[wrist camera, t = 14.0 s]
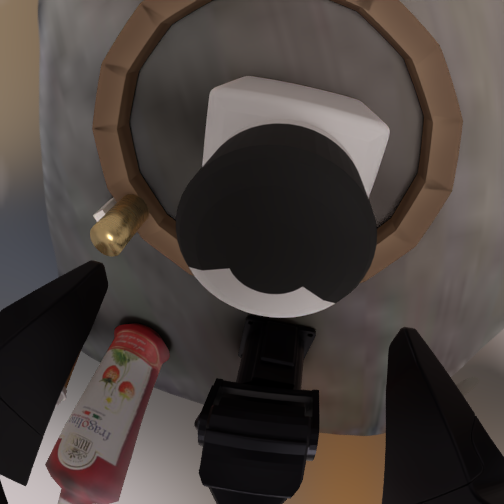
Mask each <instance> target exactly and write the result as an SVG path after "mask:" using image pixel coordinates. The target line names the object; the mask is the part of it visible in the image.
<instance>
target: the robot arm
mask: <svg viewBox="0 0 504 504" xmlns="http://www.w3.org/2000/svg"><path fill="white" fill-rule="evenodd" d="M107 289H108V281H107V276H106V272H105V267H104V265H103V263H101V262H97V261H89V262H87V263H85V264H83V265H81V266H79V267H77V268H75V269H73V270H72V271H70V272H68V273H66V274H64V275H62V276H60V277H59V278H57V279H55V280H53V281H51V282H50V283H48V284H46V285H44V286H42V287H41V288H39V289H37V290H35V291H33V292H32V293H30V294H28V295H26V296H25V297H23V298H21V299H19V300H18V301H16V302H14V303H13V304H11V305H9V306H7V307H6V308H4V309H3V310H1V312H0V474H1V475H3V476H5V477H7V478H9V479H11V480H13V481H15V482H17V483H20V484H22V485H24V486H26V485H27V483H28V480H29V476H30V473H31V470H32V467H33V464H34V461H35V458H36V456H37V452H38V450H39V447H40V445H41V442H42V439H43V436H44V433H45V431H46V428H47V426H48V423H49V421H50V418H51V416H52V413H53V411H54V408H55V406H56V404H57V401H58V399H59V397H60V394H61V392H62V390H63V388H64V385H65V383H66V381H67V379H68V376H69V374H70V372H71V370H72V368H73V366H74V364H75V362H76V359H77V357H78V355H79V353H80V351H81V349H82V347H83V345H84V343H85V341H86V339H87V337H88V335H89V333H90V331H91V329H92V326H93V324H94V321H95V319H96V316H97V314H98V311H99V309H100V306H101V304H102V301H103V299H104V296H105V294H106V292H107ZM310 333H311V334H310ZM315 336H316V331H315V330H314V329H312V328H307V327H302V326H297V325H292V324H287V323H282V322H277V321H272V320H268V319H263V318H258V317H254V316H248V317H247V318H246V321H245V326H244V331H243V335H242V340H241V345H240V349H239V354H238V356H239V357H240V358H242V359H241V363H240V367H239V371H238V376H237V380H236V382H230V381H224V380H223V379H218V378H217V379H216V381H215V383H214V386H213V385H212V387H211V390H210V392H209V394H208V397H207V399H206V401H205V404H204V406H203V409H202V411H201V413H200V414H199V416H198V417H197V419H196V420H195V427H196V429H197V430H198V443H199V445H200V446H203V451H202V457H201V465H200V469H199V475H200V478H201V481H202V484H203V485H204V486H207V487H209V489H210V491H211V493H212V495H213V497H214V499H215V501H216V503H217V504H282V503H284V501H286V500H287V498H291V497H292V496H293V495H294V494H295V493H296V491H297V490H298V489H299V487H300V484H301V483H302V480H303V475H304V470H305V464H306V460H309V461H313V459H314V457H315V454H316V449H317V444H318V437H319V390H312V391H310V390H301V383H302V371H303V360H304V358H305V356H306V354H307V352H308V350H309V348H310V346H311V344H312V342H313V340H314V338H315ZM0 504H8V502H7V499H6V496H5V493H4V490H3V487H2V484H1V481H0ZM382 504H504V456H503V455H502V454H501V452H500V451H499V449H498V448H497V447H496V445H495V444H494V442H493V441H492V439H491V438H490V437H489V435H488V433H487V432H486V430H485V429H484V427H483V426H482V424H481V423H480V421H479V419H478V418H477V416H475V413H474V412H473V410H472V409H471V407H470V406H469V404H468V402H467V401H466V400H465V398H464V396H463V395H462V393H461V392H460V390H459V389H458V387H457V386H456V385H455V383H454V382H453V380H452V379H451V377H450V376H449V374H448V373H447V371H446V370H445V369H444V367H443V366H442V364H441V363H440V362H439V360H438V359H437V357H436V356H435V355H434V353H433V352H432V351H431V349H430V348H429V346H428V345H427V344H426V342H425V341H424V340H423V338H422V337H421V336H420V334H419V333H418V332H417V330H416V329H414V328H408V327H403V328H401V329H400V331H399V332H398V334H397V335H396V337H395V338H394V339H393V341H392V342H391V344H390V346H389V353H388V371H387V385H386V452H385V471H384V486H383V498H382Z"/></svg>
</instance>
